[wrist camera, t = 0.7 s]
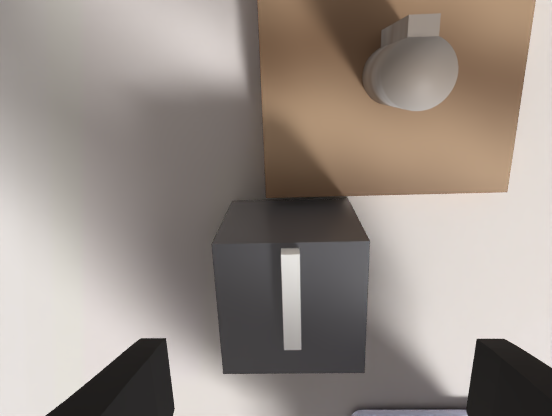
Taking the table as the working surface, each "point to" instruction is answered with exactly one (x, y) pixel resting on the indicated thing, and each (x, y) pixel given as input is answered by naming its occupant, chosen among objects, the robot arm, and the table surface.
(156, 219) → the table surface
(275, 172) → the block
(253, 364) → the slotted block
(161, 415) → the robot arm
